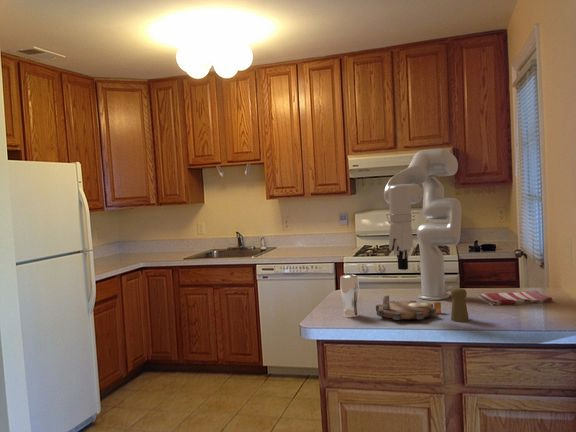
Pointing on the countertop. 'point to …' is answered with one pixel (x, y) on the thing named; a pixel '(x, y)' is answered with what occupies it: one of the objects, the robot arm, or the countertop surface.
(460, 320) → the cork
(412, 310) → the sprocket wheel
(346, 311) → the beer glass
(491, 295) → the dish towel
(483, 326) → the countertop surface
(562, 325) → the countertop surface
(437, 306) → the orange wooden block
